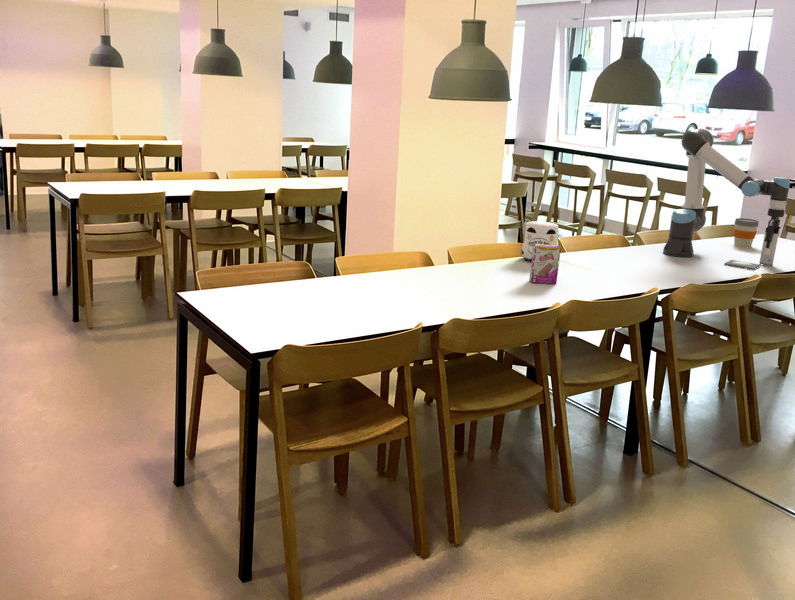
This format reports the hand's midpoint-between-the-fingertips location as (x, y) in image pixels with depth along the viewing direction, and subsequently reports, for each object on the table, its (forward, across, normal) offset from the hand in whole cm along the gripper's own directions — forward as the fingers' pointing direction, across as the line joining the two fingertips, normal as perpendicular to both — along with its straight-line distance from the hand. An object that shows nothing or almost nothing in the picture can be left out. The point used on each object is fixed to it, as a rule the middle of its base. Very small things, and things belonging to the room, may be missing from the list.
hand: (768, 253), depth 390 cm
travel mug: (+6, 0, 0) cm, 6 cm away
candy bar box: (+6, -128, +59) cm, 141 cm away
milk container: (+6, -90, +82) cm, 122 cm away
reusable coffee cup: (+6, +45, +24) cm, 51 cm away
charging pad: (+6, -14, +8) cm, 17 cm away
